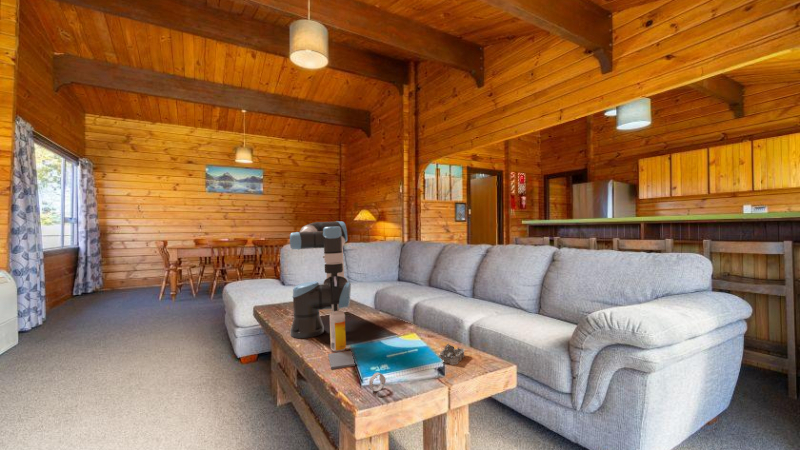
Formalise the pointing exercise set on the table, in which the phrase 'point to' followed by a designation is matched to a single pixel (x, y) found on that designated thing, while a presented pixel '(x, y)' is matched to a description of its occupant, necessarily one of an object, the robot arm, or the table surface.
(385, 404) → the table surface
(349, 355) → the mat
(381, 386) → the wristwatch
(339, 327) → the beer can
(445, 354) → the egg carton
